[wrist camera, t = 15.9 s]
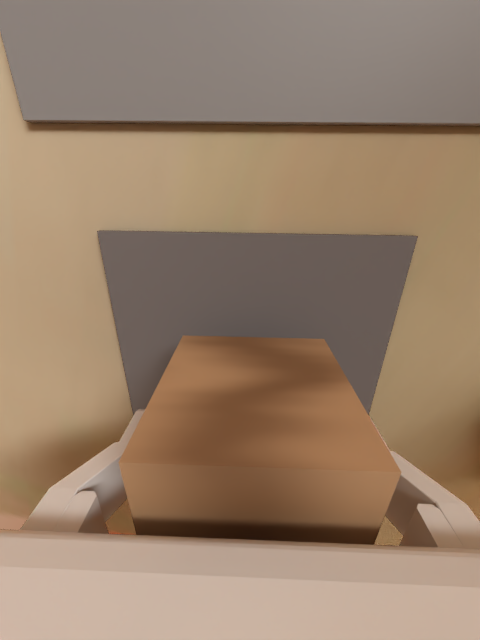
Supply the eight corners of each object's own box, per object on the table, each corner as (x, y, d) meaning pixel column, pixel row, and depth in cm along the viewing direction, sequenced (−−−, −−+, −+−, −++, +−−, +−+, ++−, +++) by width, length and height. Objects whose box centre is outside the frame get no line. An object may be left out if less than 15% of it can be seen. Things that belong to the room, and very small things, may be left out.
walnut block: (324, 338, 11) (401, 472, 5) (307, 442, 13) (349, 607, 8) (182, 335, 11) (118, 462, 6) (191, 438, 13) (152, 598, 8)
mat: (413, 235, 11) (417, 236, 11) (353, 458, 17) (355, 462, 17) (100, 230, 12) (96, 231, 11) (142, 451, 17) (141, 455, 17)
